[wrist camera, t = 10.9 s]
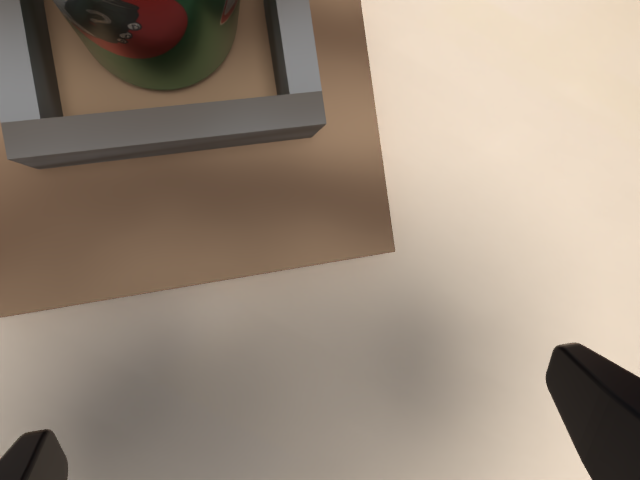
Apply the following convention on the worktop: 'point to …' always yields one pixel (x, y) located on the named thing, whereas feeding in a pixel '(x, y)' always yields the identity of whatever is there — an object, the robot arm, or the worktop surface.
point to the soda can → (155, 37)
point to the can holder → (185, 159)
